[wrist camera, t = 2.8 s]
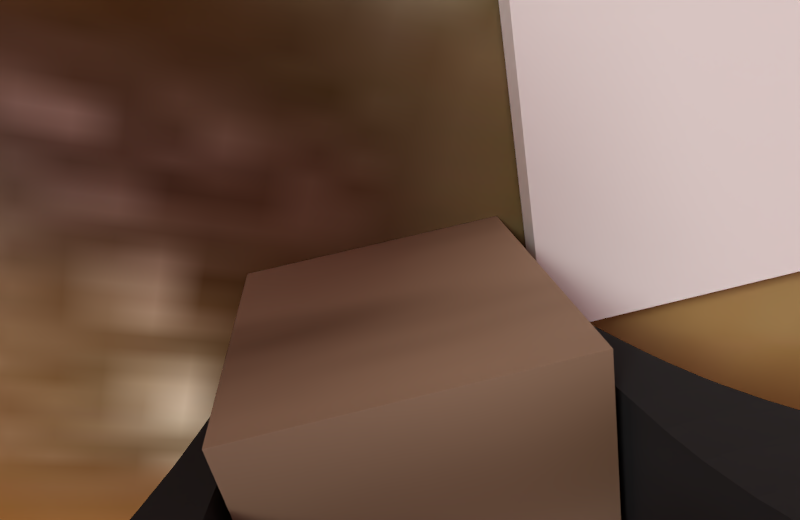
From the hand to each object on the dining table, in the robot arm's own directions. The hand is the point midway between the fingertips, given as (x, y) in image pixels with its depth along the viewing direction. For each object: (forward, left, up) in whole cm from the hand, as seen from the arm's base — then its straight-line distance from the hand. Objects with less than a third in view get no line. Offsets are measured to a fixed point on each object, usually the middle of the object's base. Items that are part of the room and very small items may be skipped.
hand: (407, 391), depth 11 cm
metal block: (0, 0, -2) cm, 2 cm away
